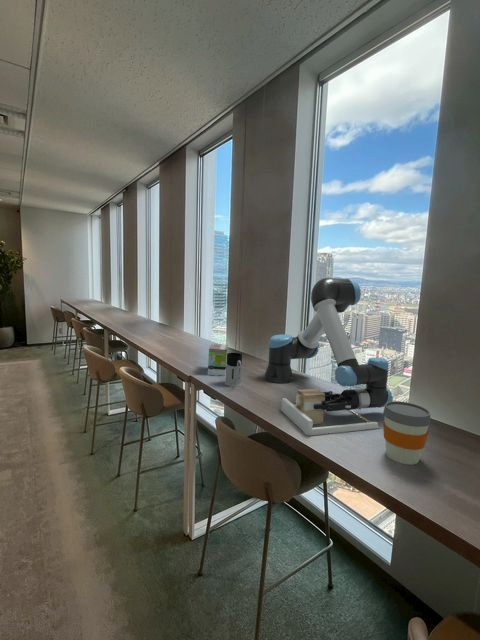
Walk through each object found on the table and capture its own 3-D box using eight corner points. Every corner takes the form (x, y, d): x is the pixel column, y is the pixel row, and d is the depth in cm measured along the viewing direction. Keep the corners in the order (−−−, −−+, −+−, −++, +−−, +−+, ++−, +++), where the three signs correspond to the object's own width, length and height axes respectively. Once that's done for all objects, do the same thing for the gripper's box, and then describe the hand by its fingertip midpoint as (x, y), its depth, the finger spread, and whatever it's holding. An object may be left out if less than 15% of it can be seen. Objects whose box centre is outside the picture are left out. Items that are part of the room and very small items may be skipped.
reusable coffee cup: (373, 444, 104) (377, 399, 103) (412, 447, 104) (417, 402, 102) (389, 466, 92) (395, 416, 90) (434, 469, 92) (440, 418, 90)
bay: (281, 410, 130) (282, 398, 129) (344, 405, 138) (345, 394, 138) (307, 435, 109) (308, 421, 108) (379, 428, 117) (381, 414, 117)
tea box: (225, 376, 174) (227, 349, 172) (207, 375, 174) (208, 348, 172) (227, 368, 189) (228, 343, 187) (210, 368, 189) (211, 343, 187)
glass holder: (238, 380, 166) (240, 352, 165) (248, 389, 153) (249, 358, 151) (222, 381, 164) (223, 352, 162) (230, 391, 150) (231, 359, 148)
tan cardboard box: (295, 418, 123) (297, 389, 122) (314, 416, 125) (316, 388, 124) (303, 424, 117) (305, 395, 116) (323, 423, 119) (325, 394, 118)
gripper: (369, 418, 117) (312, 423, 111) (339, 399, 135) (288, 403, 129) (371, 398, 116) (314, 402, 110) (340, 382, 134) (289, 385, 128)
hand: (300, 403), depth 119 cm, fingers closed on tan cardboard box, 6 cm apart
